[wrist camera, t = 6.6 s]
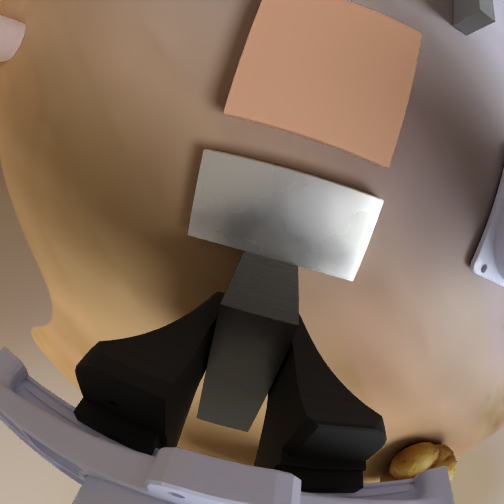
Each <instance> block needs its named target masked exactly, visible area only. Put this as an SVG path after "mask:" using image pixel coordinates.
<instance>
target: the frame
mask: <svg viewBox="0 0 504 504" xmlns="http://www.w3.org/2000/svg"><path fill="white" fill-rule="evenodd" d="M493 22H495V15H494V7H493V0H453V26H454V27H455V28H457V29H458V30H460V31H461V32H463V33H464V34H466V35H469V34H471V33H473V32H475V31H477V30H479V29H481V28H483V27H485V26H487V25H489V24H491V23H493Z"/></svg>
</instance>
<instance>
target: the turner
mask: <svg viewBox="0 0 504 504" xmlns="http://www.w3.org/2000/svg"><path fill="white" fill-rule="evenodd" d="M382 204H383V200H382V199H380V198H379V197H377V196H374V195H371V194H369V193H366V192H363V191H360V190H357V189H355V188H352V187H349V186H346V185H343V184H340V183H337V182H334V181H331V180H327V179H324V178H321V177H318V176H315V175H311V174H308V173H304V172H301V171H298V170H294V169H291V168H287V167H283V166H280V165H276V164H272V163H268V162H264V161H260V160H256V159H252V158H248V157H244V156H240V155H235V154H231V153H226V152H222V151H217V150H212V149H204V151H203V155H202V160H201V165H200V170H199V175H198V180H197V185H196V190H195V195H194V201H193V206H192V212H191V218H190V224H189V230H188V235H190V236H193V237H197V238H200V239H204V240H207V241H211V242H215V243H218V244H222V245H225V246H229V247H232V248H236V249H239V250H243V251H244V253H243V255H242V257H241V260H240V262H239V264H238V266H237V268H236V271H235V273H234V275H233V277H232V279H231V281H230V284H229V286H228V288H227V290H226V292H225V295H224V297H223V299H222V301H221V303H220V307H219V312H218V317H217V321H216V326H215V331H214V335H213V340H212V345H211V350H210V354H209V359H208V364H207V369H206V374H205V379H204V384H203V389H202V394H201V399H200V404H199V409H198V414H197V418H198V419H202V420H205V421H208V422H212V423H215V424H219V425H222V426H226V427H230V428H234V429H238V430H242V431H246V432H248V431H249V429H250V427H251V425H252V423H253V421H254V419H255V417H256V415H257V413H258V411H259V409H260V408H261V406H262V404H263V402H264V400H265V398H266V396H267V394H268V392H269V389H270V387H271V385H272V383H273V381H274V379H275V377H276V375H277V373H278V371H279V369H280V366H281V364H282V362H283V360H284V358H285V356H286V353H287V351H288V349H289V347H290V344H291V342H292V340H293V338H294V335H295V333H296V331H297V328H298V326H299V296H298V266H300V267H304V268H307V269H311V270H314V271H318V272H322V273H325V274H329V275H332V276H336V277H339V278H343V279H347V280H350V281H353V280H354V277H355V275H356V273H357V270H358V268H359V265H360V263H361V261H362V258H363V256H364V253H365V251H366V248H367V246H368V243H369V240H370V238H371V235H372V232H373V230H374V227H375V224H376V221H377V219H378V216H379V213H380V210H381V207H382Z"/></svg>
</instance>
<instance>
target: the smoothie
mask: <svg viewBox="0 0 504 504" xmlns="http://www.w3.org/2000/svg"><path fill="white" fill-rule="evenodd" d="M25 31H26V25H25V24H24V23H22V22H19V21H17V20H14V19H11V18H9V17H6V16H3V15H0V62H5V61H9V60H10V59H11V58H12V57H13V56H14V55H15V53H16V52H17V50H18V49H19V47H20V45H21V43H22V40H23V38H24V35H25Z"/></svg>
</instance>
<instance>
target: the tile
mask: <svg viewBox="0 0 504 504" xmlns="http://www.w3.org/2000/svg"><path fill="white" fill-rule="evenodd" d="M421 37H422V33H420V32H418V31H416V30H414V29H412V28H410V27H408V26H406V25H404V24H402V23H400V22H398V21H396V20H394V19H392V18H390V17H388V16H385V15H383V14H381V13H378V12H376V11H374V10H371V9H369V8H366V7H363V6H361V5H358V4H355V3H353V2H350V1H347V0H262V2H261V4H260V7H259V9H258V12H257V14H256V17H255V19H254V22H253V25H252V27H251V30H250V33H249V36H248V38H247V41H246V44H245V47H244V50H243V52H242V55H241V58H240V61H239V64H238V67H237V70H236V73H235V76H234V79H233V83H232V86H231V89H230V92H229V95H228V99H227V102H226V105H225V108H224V112H223V113H224V114H226V115H228V116H230V117H233V118H238V119H242V120H246V121H250V122H253V123H257V124H261V125H265V126H268V127H272V128H275V129H279V130H282V131H285V132H289V133H292V134H295V135H298V136H301V137H304V138H307V139H310V140H313V141H316V142H319V143H322V144H325V145H327V146H330V147H333V148H336V149H338V150H341V151H343V152H346V153H349V154H351V155H354V156H356V157H359V158H361V159H363V160H366V161H368V162H371V163H373V164H375V165H377V166H381V167H385V168H389V166H390V163H391V160H392V157H393V154H394V150H395V147H396V144H397V141H398V137H399V134H400V131H401V127H402V124H403V120H404V116H405V113H406V109H407V105H408V101H409V97H410V93H411V88H412V84H413V80H414V75H415V70H416V65H417V60H418V55H419V49H420V43H421Z"/></svg>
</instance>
